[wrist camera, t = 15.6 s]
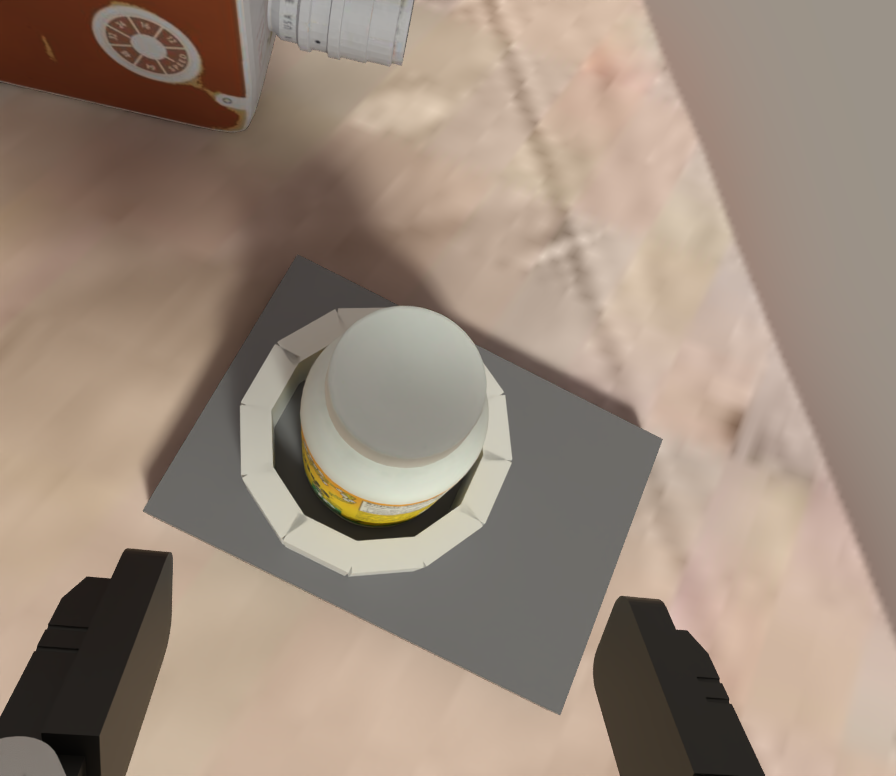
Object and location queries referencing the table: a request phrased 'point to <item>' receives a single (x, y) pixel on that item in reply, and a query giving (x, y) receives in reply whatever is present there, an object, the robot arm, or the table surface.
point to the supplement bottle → (393, 415)
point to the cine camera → (185, 49)
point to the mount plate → (438, 528)
